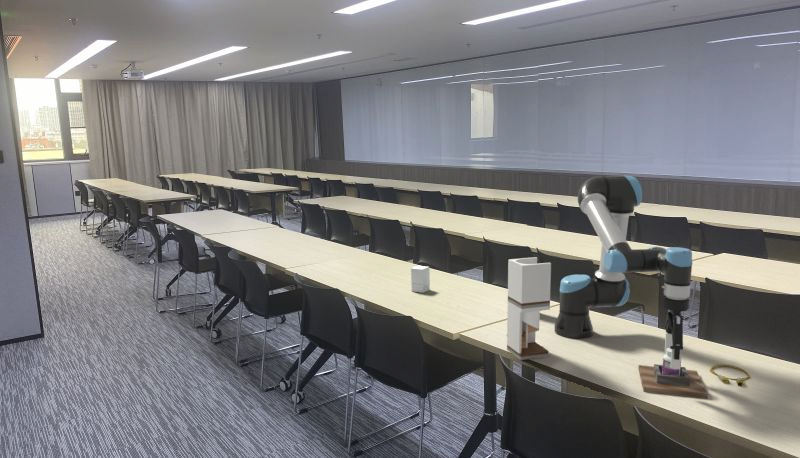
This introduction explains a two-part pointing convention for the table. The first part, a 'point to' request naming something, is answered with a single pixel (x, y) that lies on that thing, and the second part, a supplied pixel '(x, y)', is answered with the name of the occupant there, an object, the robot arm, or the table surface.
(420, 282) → the supplement box
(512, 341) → the white notched tower
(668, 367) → the pill bottle
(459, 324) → the table surface
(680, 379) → the socket block
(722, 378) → the gold torc necklace
